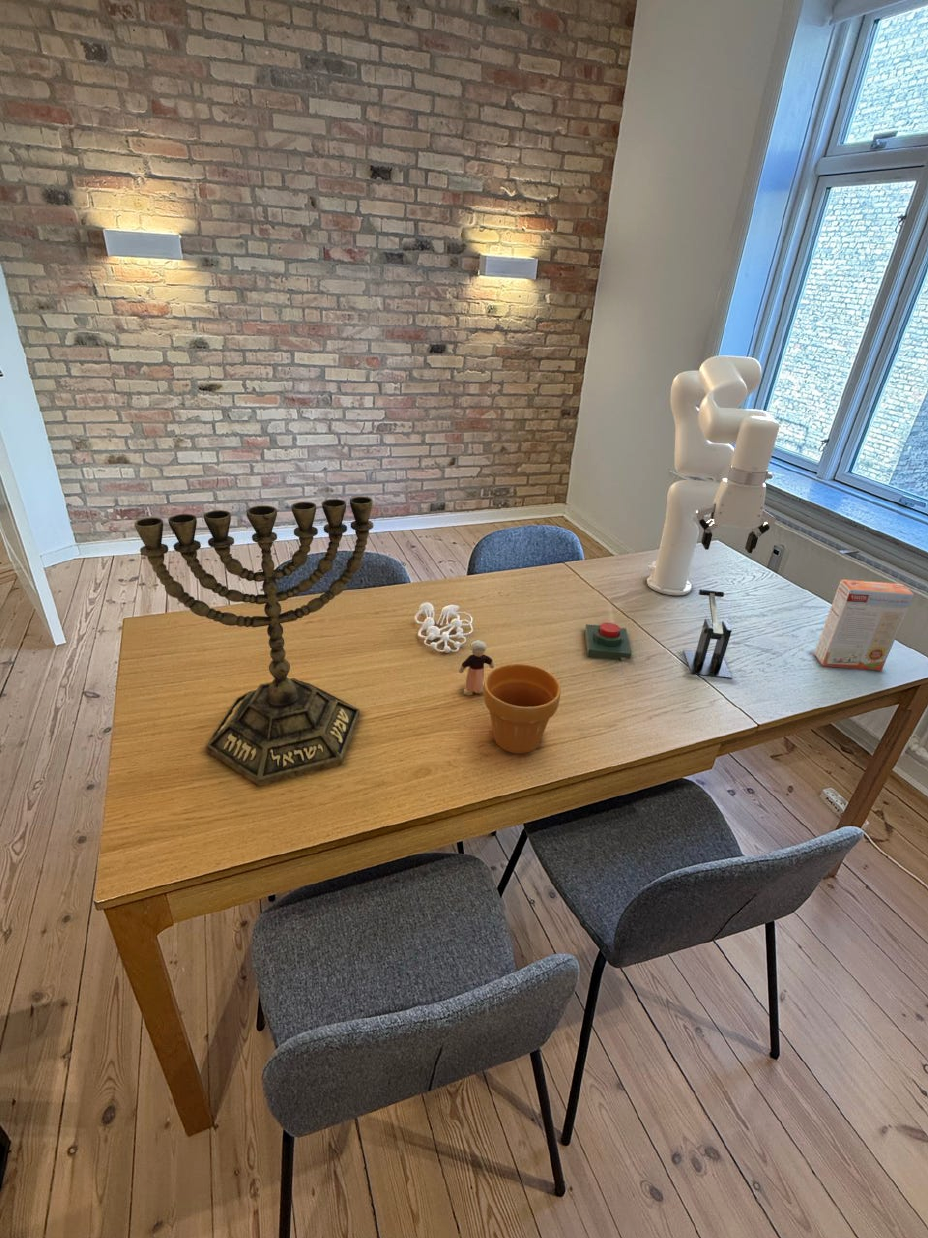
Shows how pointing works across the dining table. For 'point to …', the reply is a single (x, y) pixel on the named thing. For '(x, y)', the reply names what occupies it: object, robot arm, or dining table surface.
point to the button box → (606, 644)
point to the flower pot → (520, 704)
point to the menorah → (285, 708)
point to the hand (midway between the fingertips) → (726, 549)
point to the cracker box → (862, 624)
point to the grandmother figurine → (476, 668)
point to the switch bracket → (710, 662)
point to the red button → (609, 630)
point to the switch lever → (714, 612)
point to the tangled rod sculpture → (434, 631)
